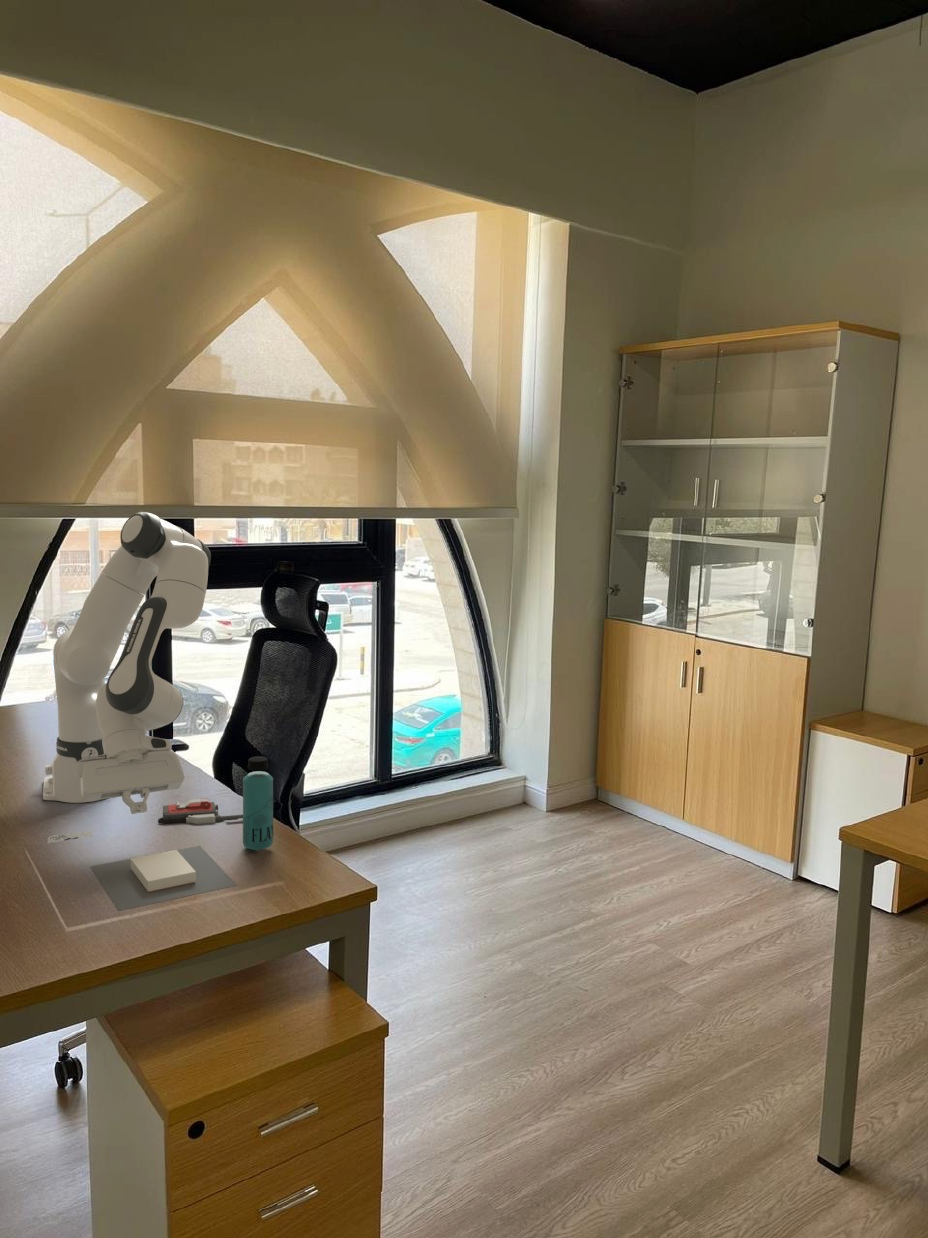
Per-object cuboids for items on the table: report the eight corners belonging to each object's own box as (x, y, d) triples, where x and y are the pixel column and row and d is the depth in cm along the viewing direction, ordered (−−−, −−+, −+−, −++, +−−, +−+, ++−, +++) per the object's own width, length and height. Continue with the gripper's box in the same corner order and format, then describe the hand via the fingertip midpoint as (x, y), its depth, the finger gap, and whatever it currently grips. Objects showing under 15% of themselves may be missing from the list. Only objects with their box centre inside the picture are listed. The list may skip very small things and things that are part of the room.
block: (130, 858, 189) (147, 881, 179) (176, 850, 194) (195, 871, 184) (130, 869, 190) (148, 893, 180) (176, 860, 194) (195, 883, 185)
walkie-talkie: (158, 831, 212) (251, 823, 218) (157, 812, 211) (251, 804, 217) (157, 817, 220) (247, 810, 226) (157, 798, 219) (247, 792, 226)
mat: (89, 868, 190) (89, 866, 190) (199, 848, 202) (199, 845, 202) (118, 913, 172) (118, 911, 172) (237, 887, 184) (237, 885, 184)
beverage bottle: (248, 859, 198) (248, 764, 195) (237, 847, 203) (237, 755, 200) (278, 853, 201) (279, 760, 198) (267, 842, 207) (267, 751, 204)
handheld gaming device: (92, 830, 209) (92, 857, 195) (92, 833, 209) (92, 860, 195) (48, 834, 206) (45, 862, 192) (48, 838, 206) (45, 865, 192)
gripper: (76, 750, 195) (87, 812, 188) (178, 739, 206) (192, 797, 199) (72, 766, 199) (83, 827, 193) (172, 754, 210) (185, 811, 204)
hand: (139, 812), depth 196 cm, fingers closed
